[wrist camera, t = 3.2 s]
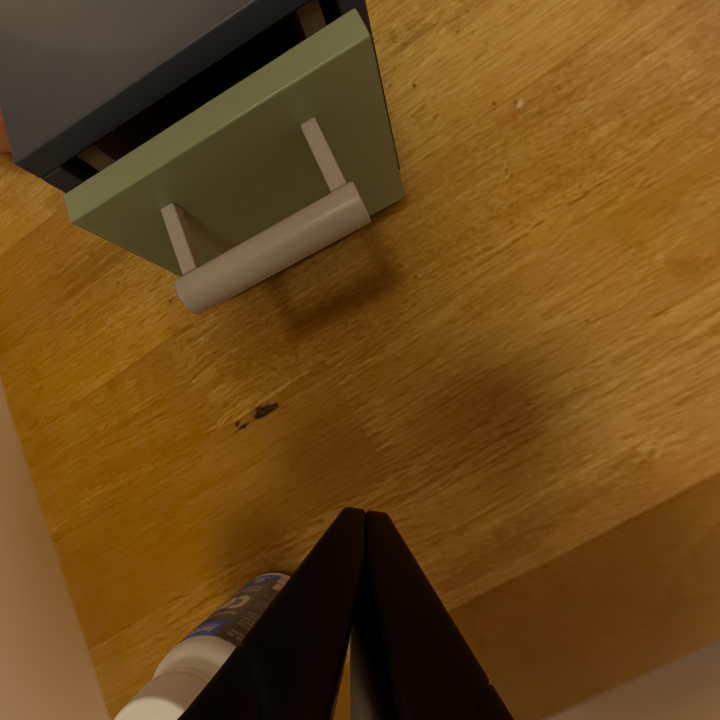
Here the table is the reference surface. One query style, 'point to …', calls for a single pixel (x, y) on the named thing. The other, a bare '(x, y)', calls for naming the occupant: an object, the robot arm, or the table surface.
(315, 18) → the drawer
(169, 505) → the table surface
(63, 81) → the cabinet
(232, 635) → the pill bottle
